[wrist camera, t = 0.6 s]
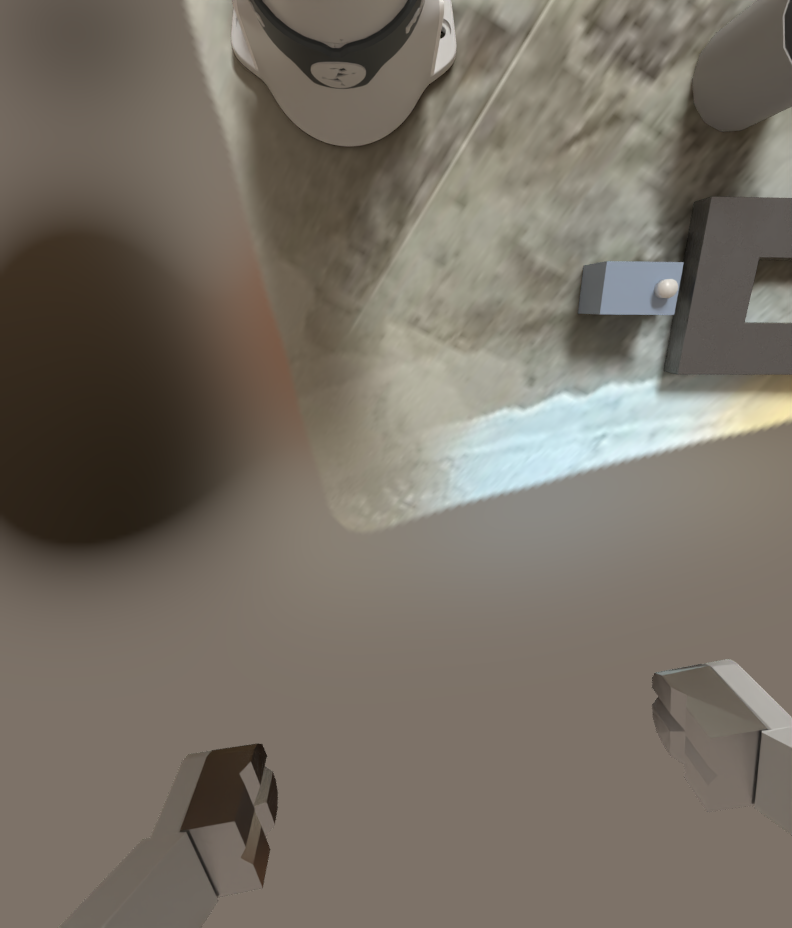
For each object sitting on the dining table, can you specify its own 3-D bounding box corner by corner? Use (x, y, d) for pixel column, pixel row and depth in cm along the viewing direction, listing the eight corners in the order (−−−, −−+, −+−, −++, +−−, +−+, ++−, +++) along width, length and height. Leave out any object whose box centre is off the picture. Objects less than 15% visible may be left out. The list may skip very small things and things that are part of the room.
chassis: (694, 202, 46) (711, 196, 44) (893, 205, 47) (921, 200, 44) (663, 370, 51) (677, 374, 49) (843, 371, 52) (866, 374, 49)
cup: (675, 70, 43) (761, 3, 33) (756, -6, 41) (871, -99, 32) (721, 153, 45) (815, 112, 35) (800, 83, 43) (920, 22, 34)
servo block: (583, 265, 47) (612, 260, 42) (667, 266, 48) (707, 261, 42) (577, 313, 49) (604, 314, 43) (659, 314, 49) (696, 315, 43)
